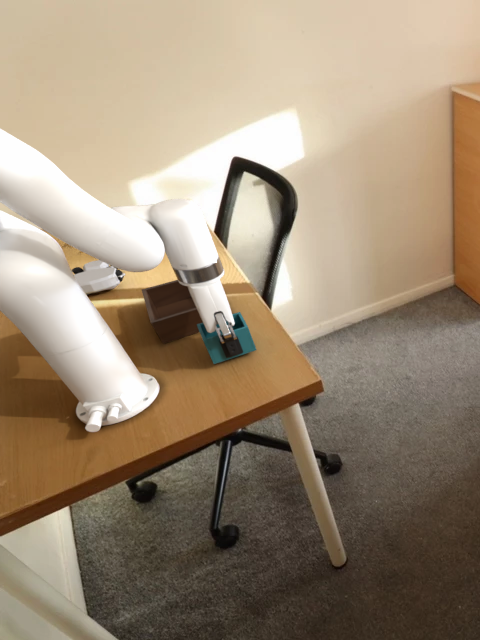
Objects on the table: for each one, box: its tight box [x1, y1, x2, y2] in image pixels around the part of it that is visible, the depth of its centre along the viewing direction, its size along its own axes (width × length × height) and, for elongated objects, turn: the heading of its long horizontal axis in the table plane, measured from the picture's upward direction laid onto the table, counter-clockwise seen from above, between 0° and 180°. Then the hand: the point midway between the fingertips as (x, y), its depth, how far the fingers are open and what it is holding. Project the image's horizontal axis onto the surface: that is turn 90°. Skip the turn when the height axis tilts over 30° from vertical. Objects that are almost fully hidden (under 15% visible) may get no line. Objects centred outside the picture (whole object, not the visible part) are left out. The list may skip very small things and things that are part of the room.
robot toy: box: [71, 259, 126, 296], centre depth 116 cm, size 12×4×15 cm
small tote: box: [197, 311, 257, 365], centre depth 95 cm, size 8×6×6 cm
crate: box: [141, 279, 203, 345], centre depth 106 cm, size 16×14×6 cm
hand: (230, 345), depth 97 cm, fingers closed on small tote, 6 cm apart
